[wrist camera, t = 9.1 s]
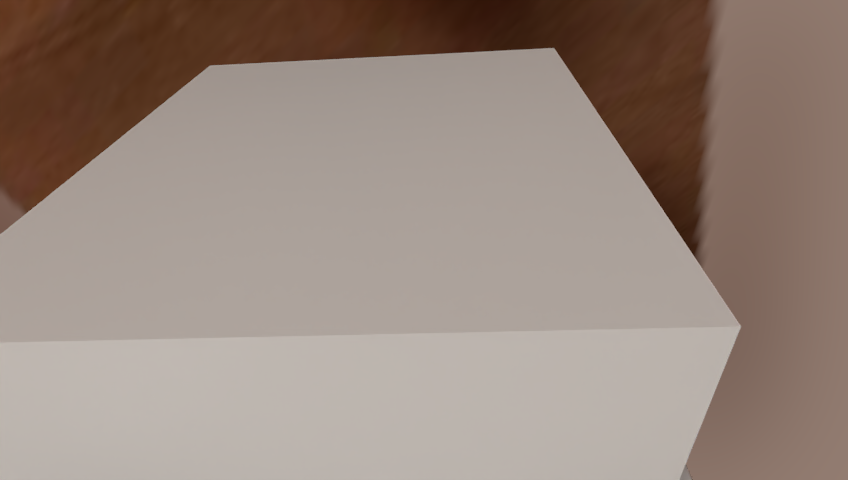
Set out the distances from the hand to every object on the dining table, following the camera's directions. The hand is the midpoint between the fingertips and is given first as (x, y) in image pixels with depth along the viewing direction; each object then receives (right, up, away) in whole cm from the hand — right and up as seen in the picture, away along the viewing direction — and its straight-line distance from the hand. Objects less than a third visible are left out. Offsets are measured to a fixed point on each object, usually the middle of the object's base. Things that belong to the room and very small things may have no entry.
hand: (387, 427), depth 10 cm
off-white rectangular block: (0, +3, +4) cm, 5 cm away
